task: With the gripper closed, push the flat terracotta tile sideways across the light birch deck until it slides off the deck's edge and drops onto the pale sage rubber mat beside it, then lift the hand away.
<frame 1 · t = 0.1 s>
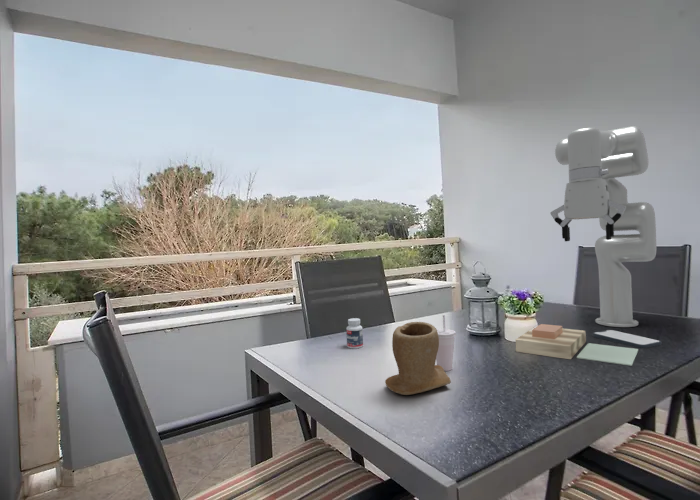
hand: (587, 240, 104), 31 cm above the table, tool pointing down, fingers open, 9 cm apart
tile: (547, 334, 115), point 3 cm above the table, touching deck
pill bottle: (355, 347, 126), on the table
smoothie: (444, 369, 101), on the table
phone case: (625, 342, 118), on the table
deck: (551, 346, 115), on the table
mat: (608, 353, 106), on the table
stone cup: (421, 389, 88), on the table
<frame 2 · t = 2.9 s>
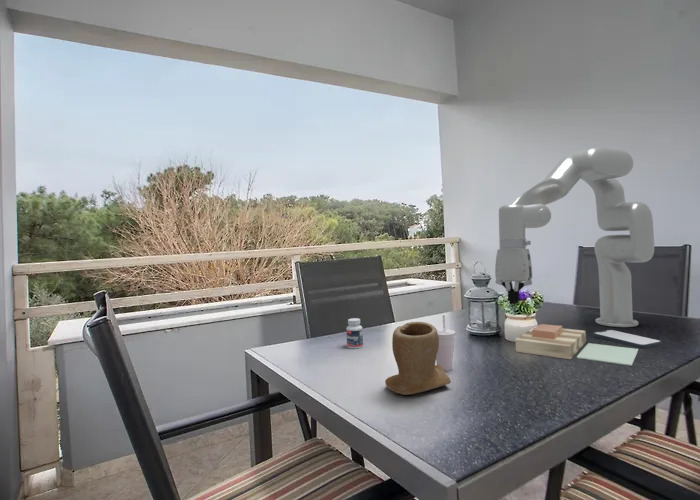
hand: (513, 303, 121), 12 cm above the table, tool pointing down, fingers closed
nothing on the table moved.
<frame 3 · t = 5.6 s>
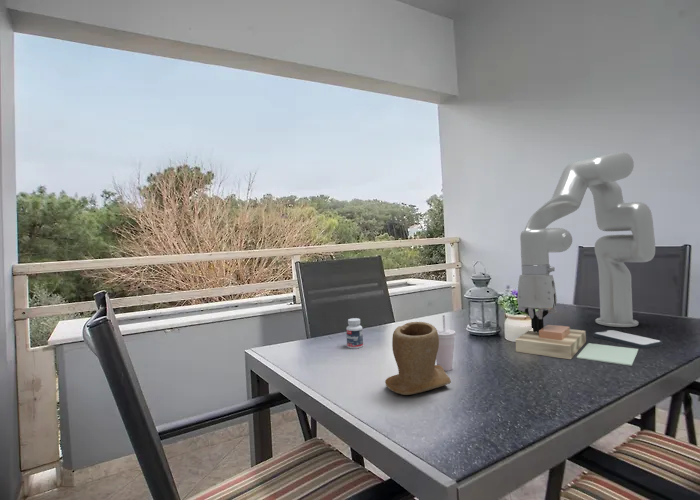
hand: (537, 331, 117), 4 cm above the table, tool pointing down, fingers closed
tile: (554, 335, 114), point 4 cm above the table, touching deck, gripper
everything else where it was.
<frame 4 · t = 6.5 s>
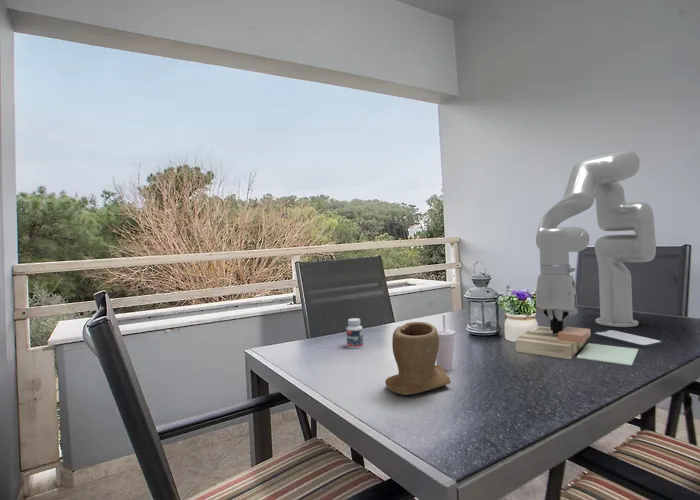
hand: (557, 333, 114), 4 cm above the table, tool pointing down, fingers closed
tile: (574, 337, 110), point 4 cm above the table, touching gripper
everything else where it was.
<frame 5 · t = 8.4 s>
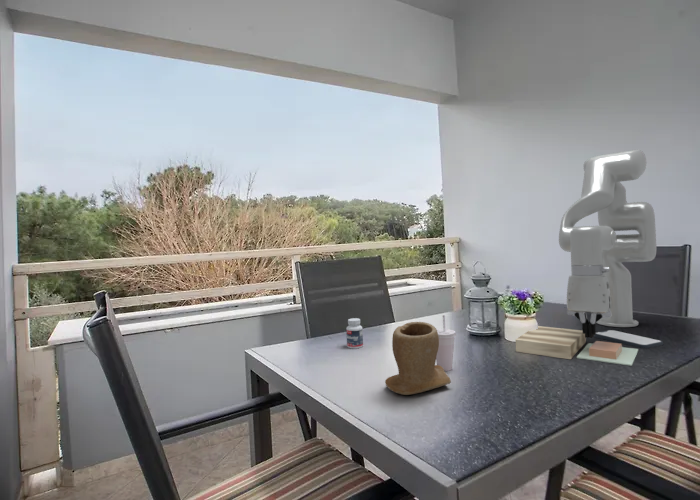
hand: (589, 336, 108), 4 cm above the table, tool pointing down, fingers closed
tile: (605, 346, 105), point 2 cm above the table, tilted 180°, touching mat
everything else where it was.
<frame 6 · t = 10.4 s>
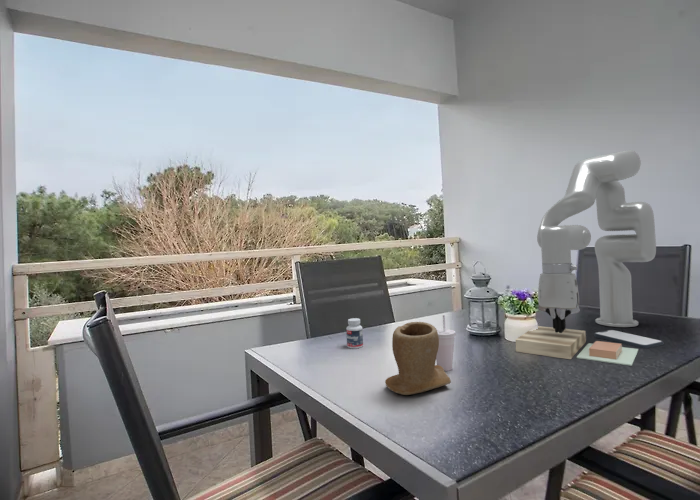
hand: (559, 331, 114), 5 cm above the table, tool pointing down, fingers closed
nothing on the table moved.
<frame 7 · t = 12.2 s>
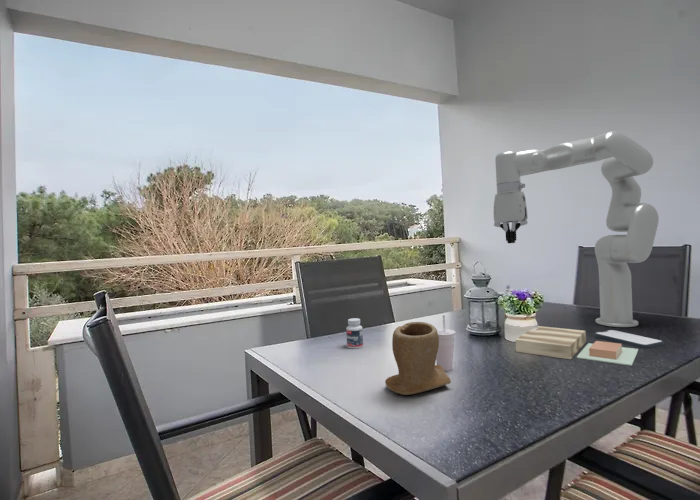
hand: (511, 242, 132), 31 cm above the table, tool pointing down, fingers closed
nothing on the table moved.
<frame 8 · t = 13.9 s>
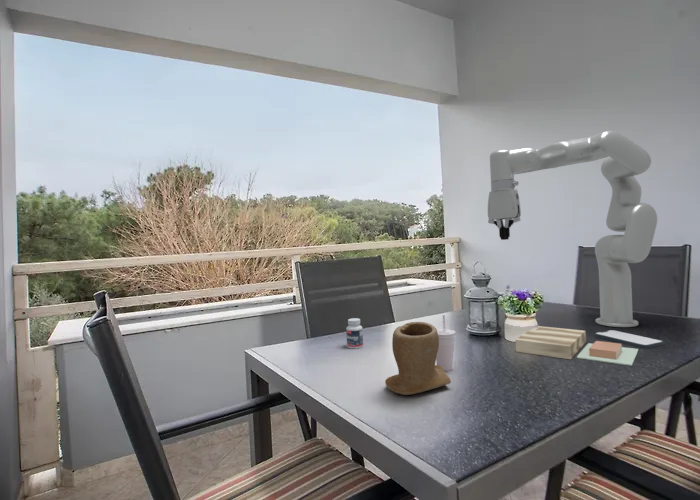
hand: (504, 239, 135), 32 cm above the table, tool pointing down, fingers closed
nothing on the table moved.
at the end: tile inside the target area on the mat (0.8 cm from its centre), point 2.3 cm above the mat's base; tile point 2.3 cm above the table; tile touching mat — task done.
